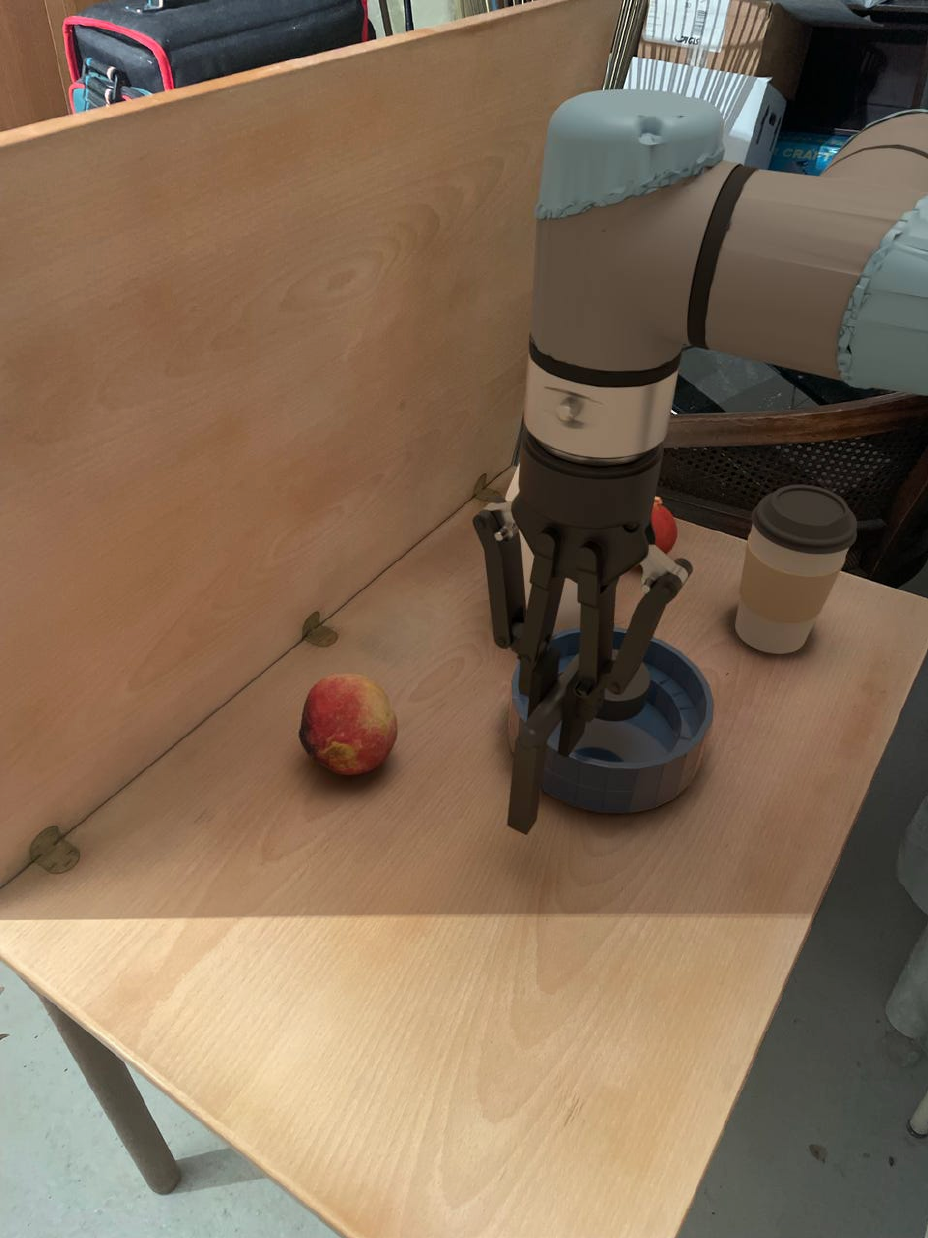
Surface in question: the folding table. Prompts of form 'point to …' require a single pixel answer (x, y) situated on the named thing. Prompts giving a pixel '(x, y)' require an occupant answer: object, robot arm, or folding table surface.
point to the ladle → (542, 726)
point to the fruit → (348, 724)
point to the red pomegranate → (663, 527)
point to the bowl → (629, 736)
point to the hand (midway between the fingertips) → (554, 735)
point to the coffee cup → (791, 565)
